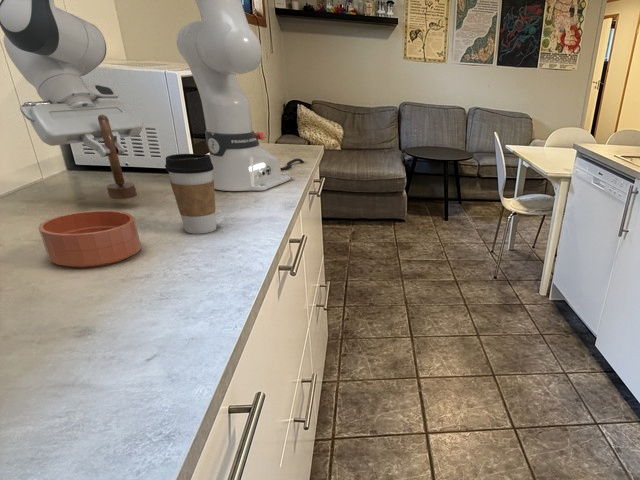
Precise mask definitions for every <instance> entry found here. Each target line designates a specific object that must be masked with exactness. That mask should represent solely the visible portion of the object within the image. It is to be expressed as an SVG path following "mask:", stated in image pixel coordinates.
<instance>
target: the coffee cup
mask: <svg viewBox="0 0 640 480" xmlns="http://www.w3.org/2000/svg"><path fill="white" fill-rule="evenodd" d="M164 167H165V171H166V172H168V175H169V179H170V180H169V183H170V186H171V190H172V193H173V195H174V199H175V202H176V205H177V208H178V212H179V215H180V218H181V222H182V225H183V230H184V232H186V233H189V234H194V235H196V234H197V235H198V234H208V233H212V232H214V231H216V230H217V215H216V196H215V189H214V179H213V178H212V170H213V169H214V168H213V164H212V162H211V159H210V154H207V153H177V154H171V155H167V156H166V157H165V164H164Z"/></svg>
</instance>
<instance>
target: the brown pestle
mask: <svg viewBox="0 0 640 480" xmlns="http://www.w3.org/2000/svg"><path fill="white" fill-rule="evenodd" d="M98 121H99V125H100V129H101V132H102V136H103V140H102V141H103V144H104V145H106V146H107V147H108V149H110V151H111V153H110V156H107V158H108V162H109V165H110V170H111V173H112V176H113V180H114V183H110V184H107V186H106V189H107V193H108V196H109V198H110V199H113V200H128V199H133V198H135V197H137V196H138V194H137V189H136V185H135V183H133V182H125V178H124V174H123V170H122V166H121V162H120V158H119V154H117V150H116V147H115V143H114V139H113V135H112V131H111V127H110V123H109V120H108V118H107V117H106V116H105V115H100V116H99V117H98Z"/></svg>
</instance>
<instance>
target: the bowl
mask: <svg viewBox="0 0 640 480" xmlns="http://www.w3.org/2000/svg"><path fill="white" fill-rule="evenodd" d="M38 225H39V226H38V227H37V229H38V231H39V235H40V237H41V241H42V243H43V246H44V250H45V252H46V255H47V259H49V261H50V262H52V263H53V264H56V265H59V266H65V267H70V268H93V267H102V266H107V265H112V264H116V263H118V262H119V263H120V262H121V261H125V260H127V259H129V258H130V257H132V256H134V255H135V254H137V253H139V251H140V250H141V248H142V247H141V246H142V243H141V241H140V236H139V232H138V228H137V224H136V218H135V217H134V216H133V215H132V214H131V213H128V212H125V211H119V210H87V211H85V210H84V211H78V212H71V213H67V214H62V215H57V216H54V217H52V218H48V219H46V220H44V221H43V222H40V224H38Z"/></svg>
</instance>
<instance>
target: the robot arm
mask: <svg viewBox="0 0 640 480" xmlns="http://www.w3.org/2000/svg"><path fill="white" fill-rule="evenodd" d="M194 1H195V3H196V6H197V8H198V12H199V15H200V19H201V20H196V21H195V20H194V21H191V22H189V23H187V24H185V25H183V26H182V27H180V29H179V30H178V32H177V34H176V41H175V42H176V47H177V50H178V53H179V54H180V56H181V57H182V59H184V61H185V62H186V64H187V65H188V68H189V70H190V73H191V75H192V78H193V80H194V83H195V85H196V88H197V90H198V93H199V97H200V101H201V105H202V112H203V117H204V123H205V124H204V125H205V129H206V130H205V131H204V135H205V142H206V146H207V149H208V153H209V154H208V155H210V159H211V162H212V164H213V168H214V169H213V170H212V178H213V179H214V190H218V191H225V192H226V191H227V192H246V191H253V192H254V191H255V192H256V191H257V192H259V191H260V192H261V191H266V190H269V189H271V188H273V187H276V186H279V185H281V184H283V183H284V184H285V183H286V182H288V181H291V176H290V175H289V174H286V173H282V171H287V170H288V169H291V168H292V164H294V163H296V162H300V163H301V164H305V161H304V160H303V159H302V158H294V159H291V160H289V161H288V162H287V163H286V165H285V166H282V167H281V163H280V161H279V158H277V157H276V156H275V155H273V154H272V153H271V152H269V151H268V150H267V149H265V148H264V147H263V146H261V145H260V142H259V140H261V141H265V140H266V133H265V132H263V131H261V132H260V131H256V132H255V131H254V130H253V122H252V115H251V114H252V113H251V107H250V100H249V98H248V97H247V95H246V94H245V92H244V91H243V89H242V88H241V86H240V83H239V81H238V78H237V75H243V74H248V73H250V72H253V71H256V69H258V67H259V66H260V64H261V62H262V58H263V49H262V45H261V42H260V40H259V37H258V36H257V35H256V34H255V33H254V31H253V30H252V28H251V27H250V25H249V22H248V19H247V16H246V13H245V9H244V6H243V3H242V0H194ZM0 29H1V31H2V32H3V34H4V35H3V45H4V49H5V51H6V54H7V55H8V57H9V58H10V60H11V62H12V63H13V65H14V67H15V68H16V69H17V70H18V71H19V73H20V75H22V77H23V78H24V79H25V80H26V81H27V82H28V83H29V84H30V85H32V86H33V87H34V88H35V91H36V93H37V95H38V97H39V98H40V99H41V100H40V101H25V102H23V104H22V105H20V106H19V110H20V113H21V114H22V116H24V118H25V119H26V120H28V121H29V122H30V124H31V127H32V128H33V130H34V131H35V133H36V135H37V136H38V138H39V139H40V140H41V141H42V142H43V143H44V144H46V145H48V146H51V147H53V146H62V145H63V146H64V145H70V144H77V143H78V144H79V143H83V144H84V145H85V146H86V147H88V148H90V149H92V150H94V151H95V152H97V154H99V156H100V157H101V158H105V157H108V156H110V153H111V151H110V149H108V147H107V146H106V145H105V144H101V143H100V142H98V141H104V140H103V136H102V132H101V129H100V125H99V121H98V117H99V116H100V115H105V116H106V117H107V118H108V120H109V123H110V127H111V131H112V135H113V139H114V143H115V147H116V150H117V154H118V155H124V154H125V152H126V148H125V147H124V146H123V144H122V141H121V140H122V139H121V138H129V137H136V136H137V137H138V136H140V134H141V132H142V130H143V128H144V123H143V120H142V118H140V116H139V115H138V113H137V112H136V111H135V110H134V109H133V108H132V107H131V106H130V105H129V104H128V103H127V102H126V101H124V100H123V99H121V98H119V96H120V95H119V92H118V91H117V90H116V89H115V88H113V87H110V86H106V85H100V84H96V83H93V82H90V81H88V80H84V79H83V78H82V77H84V76H86V75H87V74H89V73H90V72H92V71H94V70H95V69H96V68H98V66H100V65H101V64H102V63H103V62H104V60H105V58H106V56H107V43H106V39H105V37H104V34H103V33H102V32H101V30H100V29H99V27H97V26H96V25H95V24H94V23H91V22H89V21H88V20H85V19H83V18H81V17H79V16H78V15H75V14H73V13H71V12H68V11H65V10H63V9H62V8H59V7H57V6H55V0H0Z"/></svg>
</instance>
